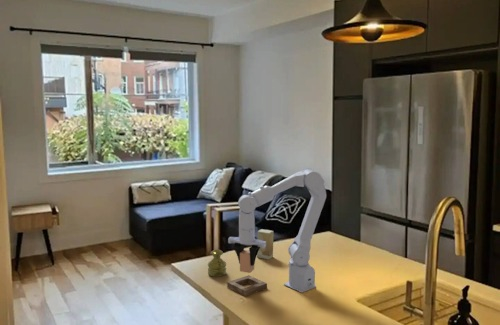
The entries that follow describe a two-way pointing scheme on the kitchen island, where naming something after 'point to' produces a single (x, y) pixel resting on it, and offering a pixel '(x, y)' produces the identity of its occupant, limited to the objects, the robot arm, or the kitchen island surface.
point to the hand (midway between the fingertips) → (246, 263)
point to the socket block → (256, 287)
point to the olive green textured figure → (217, 264)
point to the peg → (245, 262)
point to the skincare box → (268, 250)
